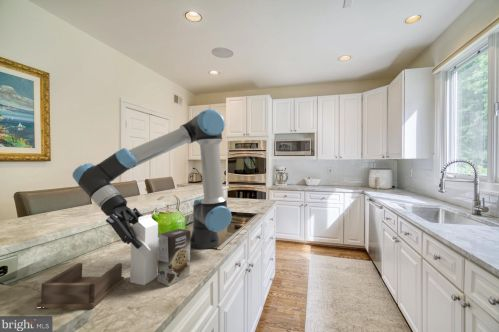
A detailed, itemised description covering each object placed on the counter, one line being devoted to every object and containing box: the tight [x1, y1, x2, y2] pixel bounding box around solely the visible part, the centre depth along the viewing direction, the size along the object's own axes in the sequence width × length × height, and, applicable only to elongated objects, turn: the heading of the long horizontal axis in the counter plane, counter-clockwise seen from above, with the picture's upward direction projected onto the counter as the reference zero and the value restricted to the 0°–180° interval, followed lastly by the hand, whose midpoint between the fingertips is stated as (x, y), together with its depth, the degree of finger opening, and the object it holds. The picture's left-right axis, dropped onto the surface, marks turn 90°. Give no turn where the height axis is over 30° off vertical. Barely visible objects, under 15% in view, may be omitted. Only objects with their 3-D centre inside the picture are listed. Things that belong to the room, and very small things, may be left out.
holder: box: [36, 262, 125, 310], centre depth 66 cm, size 15×15×6 cm
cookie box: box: [156, 228, 192, 287], centre depth 75 cm, size 9×6×16 cm
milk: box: [129, 213, 159, 286], centre depth 74 cm, size 6×6×22 cm
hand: (154, 249), depth 74 cm, fingers closed on milk, 7 cm apart
